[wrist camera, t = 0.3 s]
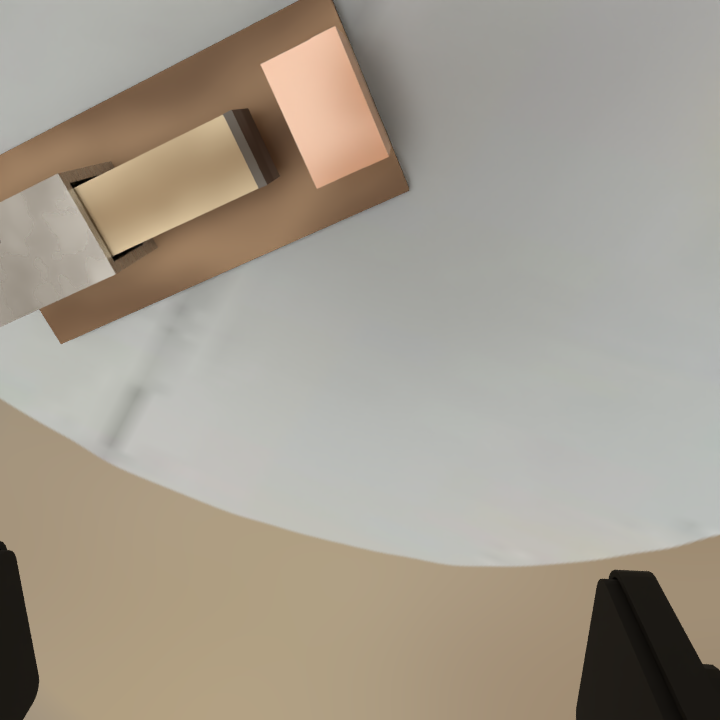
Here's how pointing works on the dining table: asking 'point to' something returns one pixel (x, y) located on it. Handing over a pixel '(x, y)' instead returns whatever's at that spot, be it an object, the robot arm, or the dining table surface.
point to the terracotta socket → (327, 107)
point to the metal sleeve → (53, 245)
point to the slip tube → (178, 181)
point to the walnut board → (178, 116)
